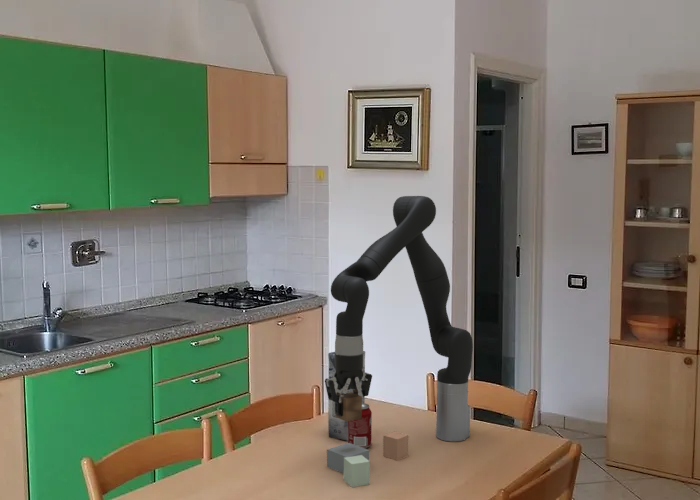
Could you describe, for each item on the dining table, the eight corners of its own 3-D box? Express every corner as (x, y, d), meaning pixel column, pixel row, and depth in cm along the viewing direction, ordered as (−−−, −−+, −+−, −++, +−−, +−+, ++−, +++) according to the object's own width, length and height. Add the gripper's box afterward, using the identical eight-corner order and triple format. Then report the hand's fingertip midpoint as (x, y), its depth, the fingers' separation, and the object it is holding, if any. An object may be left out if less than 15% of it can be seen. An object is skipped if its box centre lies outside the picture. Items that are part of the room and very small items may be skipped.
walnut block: (351, 413, 213) (351, 392, 212) (361, 418, 208) (361, 396, 208) (335, 416, 210) (335, 394, 209) (345, 421, 206) (346, 399, 205)
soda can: (368, 451, 223) (369, 409, 222) (345, 449, 224) (346, 408, 223) (373, 443, 229) (373, 403, 228) (350, 441, 231) (350, 401, 230)
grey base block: (348, 460, 216) (348, 442, 215) (369, 468, 210) (369, 450, 210) (326, 467, 210) (326, 449, 210) (347, 475, 205) (347, 457, 204)
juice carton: (367, 433, 238) (368, 345, 236) (349, 443, 229) (350, 352, 227) (343, 428, 243) (344, 342, 241) (324, 437, 234) (324, 348, 232)
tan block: (394, 451, 223) (394, 431, 222) (408, 456, 219) (408, 435, 219) (383, 456, 219) (383, 435, 218) (397, 460, 216) (397, 439, 215)
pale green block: (361, 477, 203) (361, 455, 203) (369, 484, 199) (369, 461, 198) (343, 480, 201) (343, 457, 201) (351, 487, 196) (351, 464, 196)
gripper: (363, 345, 215) (362, 406, 216) (318, 351, 207) (318, 414, 208) (379, 350, 208) (378, 413, 210) (333, 357, 200) (333, 422, 202)
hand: (348, 413), depth 209 cm, fingers closed on walnut block, 5 cm apart
